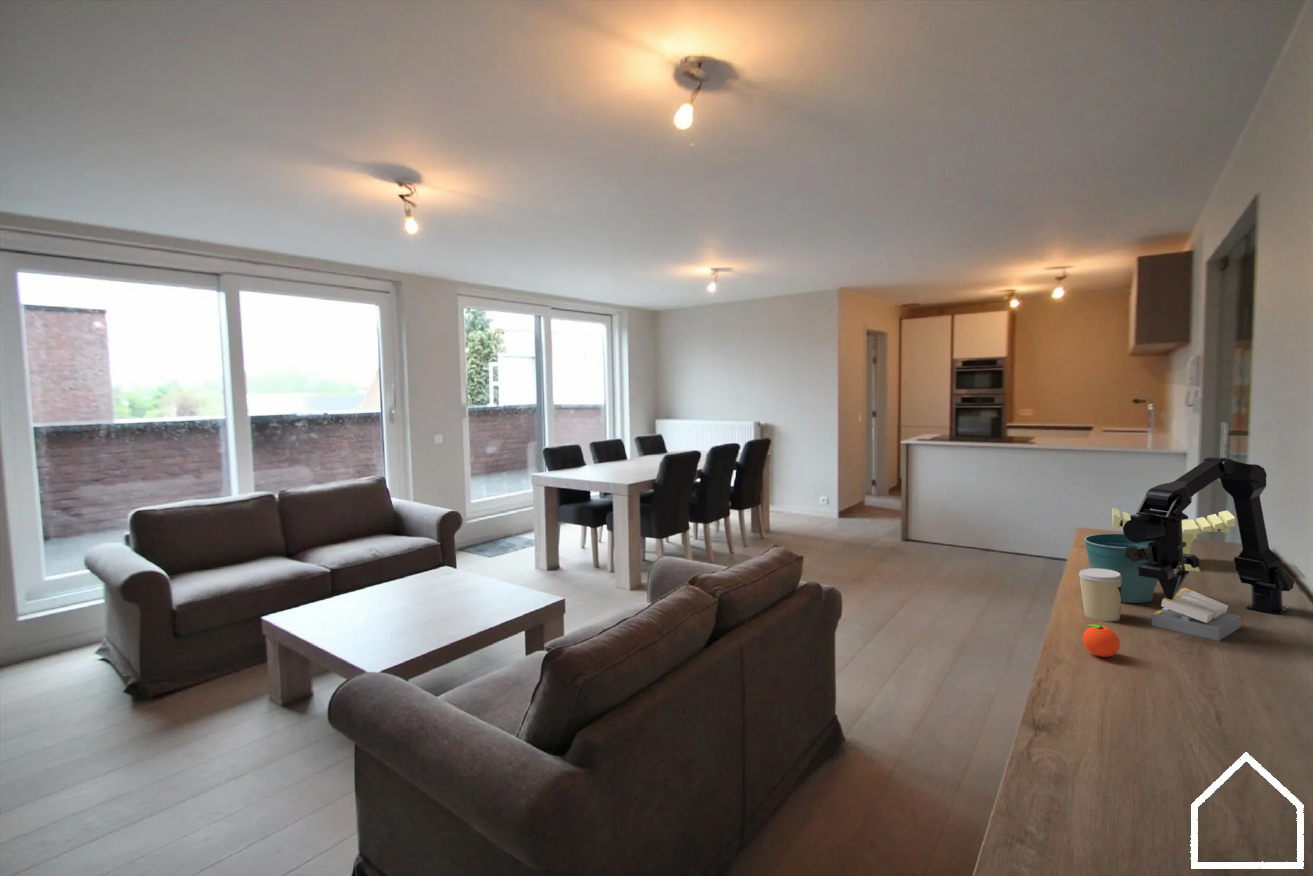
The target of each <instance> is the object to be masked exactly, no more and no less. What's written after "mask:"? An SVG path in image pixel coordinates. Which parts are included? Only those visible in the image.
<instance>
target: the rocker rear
mask: <svg viewBox="0 0 1313 876" xmlns="http://www.w3.org/2000/svg"><path fill="white" fill-rule="evenodd" d="M1178 593H1179V594H1182V595H1184V596H1187V597H1190V598H1193V599H1196V600H1199V601H1202V602H1205V603H1207V604H1210V605H1213V606H1216V607H1219V608H1221V611H1220V615H1223V614H1224V613H1227V611H1228V608H1229V605H1227V604H1225V603H1223V602H1221V601H1219V600H1216V599H1213V598H1210V597H1208V596H1207V595H1204V594H1201V593H1198V592H1197V591H1193V590H1191V589H1189V588H1187V587H1183V588H1181V589H1178Z"/></svg>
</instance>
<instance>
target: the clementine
mask: <svg viewBox="0 0 1313 876" xmlns="http://www.w3.org/2000/svg"><path fill="white" fill-rule="evenodd" d="M1087 626H1089V627H1088V628H1086V629H1085V631H1084V633H1083V634H1082V642H1083V645H1084V646H1085V648H1086V649H1087V650H1088V651H1089V652H1090V653H1091V654H1093V655H1095V656H1098V657H1101V658H1102V657H1103V658H1109V657H1112V656H1114V655H1116V654H1118V651H1119V649H1120V648H1121V641H1120V638H1119V637H1118V635H1117V634H1116V633H1115V632H1114V630H1112V629H1110V628H1109V627H1108V626H1104V625H1098V624H1094V623H1092V624H1086V625H1084V626H1082V627H1081V629H1080V631H1082V630H1083V628H1084V627H1087Z"/></svg>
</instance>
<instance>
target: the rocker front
mask: <svg viewBox="0 0 1313 876" xmlns="http://www.w3.org/2000/svg"><path fill="white" fill-rule="evenodd" d="M1160 606H1161V607H1163V608H1167V609H1170V610H1173V611H1175V612H1178V613H1181V614H1184V615H1186V616H1189V617H1192V618H1194V619H1197V620H1200V621H1203V622H1205V623H1207V622H1209V621H1211V620H1212V617H1213V613H1214V612H1211V611H1208V610H1205V609H1202V608H1199V607H1197V606H1194V605H1191V604H1188V603H1185V602H1182V601H1180V600H1177V599H1175V598H1173V599H1172V600H1171V599H1168V598H1166V597H1163V598H1162V601H1161V605H1160Z"/></svg>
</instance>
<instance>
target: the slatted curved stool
mask: <svg viewBox="0 0 1313 876" xmlns="http://www.w3.org/2000/svg"><path fill="white" fill-rule="evenodd" d="M1111 515H1112V518H1111V519H1112V520H1111V521H1112V529H1113V530H1115V529H1120V527H1122V528H1123V527H1124V525H1125V523H1126V522H1127V521H1129V520H1131V515H1130V513H1128V512H1126V511H1121V514H1120V510H1119V509H1118V508H1115V507H1111ZM1121 517H1122V518H1121ZM1236 523H1237V522H1236V517H1235V516H1234V515H1233V514H1232V513H1231V512H1230V511H1229V510H1222V511H1219V512H1218V515H1217V514H1216V513H1213V514H1209V515H1207V516H1206V517H1204V516H1202V517H1198V518H1195V520H1194V519H1193V518H1192V519H1184V520H1182V539H1183V542H1186V546H1185V547H1183V553H1185V554H1192V553H1191V548H1192V544H1193V542H1194V540H1195V537H1196V535H1200V534H1203V533H1204V534H1205V533H1209V532H1214V533H1216V532H1218V531H1219V532H1221V533H1224V534H1228V535H1229V534H1230V527H1236V526H1237V525H1236ZM1180 567H1181V568H1182V570H1184V571H1189V572H1199V571H1201V569H1200V567H1199V566H1198V567H1196V568H1192V567H1191V565H1187V564H1183V565H1181V566H1180Z"/></svg>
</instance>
